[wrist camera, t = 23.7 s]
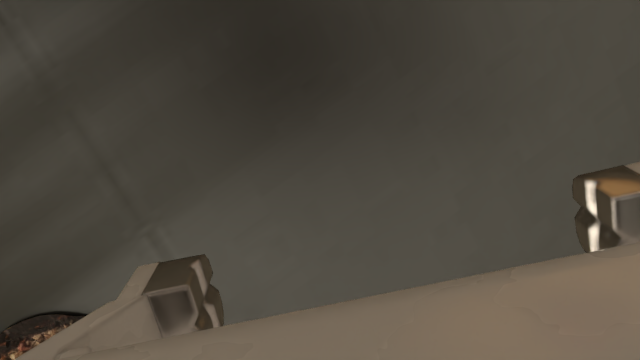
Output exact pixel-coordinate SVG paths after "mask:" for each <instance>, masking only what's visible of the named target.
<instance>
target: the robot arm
mask: <svg viewBox="0 0 640 360" xmlns="http://www.w3.org/2000/svg"><path fill="white" fill-rule="evenodd" d="M572 192H573V199H574V200H575V201H576V202H577V203H578V204H579V205H580V206H581V207H580V209H579V211H578V212H577V214H576V216H575V226H576V233H577V236H578V239H579V242H580V244H581V246H582V248H583V249H584V251H585V252H586V253H583V254H578V255H573V256H568V257H563V258H558V259H553V260H548V261H543V262H538V263H533V264H528V265H523V266H518V267H513V268H508V269H503V270H498V271H493V272H488V273H483V274H479V275H474V276H469V277H464V278H459V279H454V280H449V281H444V282H439V283H434V284H429V285H424V286H419V287H414V288H409V289H404V290H399V291H394V292H389V293H384V294H379V295H375V296H370V297H365V298H360V299H355V300H350V301H345V302H340V303H335V304H330V305H325V306H320V307H315V308H310V309H305V310H300V311H295V312H290V313H285V314H280V315H275V316H271V317H266V318H261V319H256V320H251V321H246V322H241V323H236V324H231V325H226V326H223V325H224V311H223V306H222V300H221V297H220V294H219V290H217V289H216V288H215V287H213V286H212V285H211V284H210V280H211V277H212V274H213V271H212V268H211V265H210V262H209V259H208V258H207V257H206V255H205V254H202V255H197V256H192V257H186V258H181V259H176V260H171V261H166V262H157V263H153V264H148V265H144V266H139V267H137V268H136V270H135V272H134V273H133V275H132V276H131V278H130V279H129V281H128V282H127V284H126V285H125V287H124V289H123V290H122V292H121V293H120V295H119V296H118V298H117V299H116V301H112V302H108V303H107V304H105V305H103V306H102V307H100V308H98V309H97V310H95V311H93V312H92V313H90V314H88V315H87V316H85V317H84V318H82V319H80V320H79V321H77V322H75V323H74V324H72V325H70V326H69V327H67V328H65V329H64V330H62V331H60V332H59V333H57V334H55V335H54V336H52V337H51V338H49V339H47V340H46V341H44V342H42V343H41V344H39V345H37V346H36V347H34V348H32V349H31V350H29V351H27V352H26V353H24V354H22V355H21V356H19V357H18V358H16V359H14V360H640V162H637V163H633V164H629V165H625V166H624V165H621V166H617V167H613V168H608V169H604V170H600V171H595V172H591V173H587V174H582V175H578V176H577V177H575V178H574V179H573V185H572Z"/></svg>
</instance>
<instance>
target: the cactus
mask: <svg viewBox="0 0 640 360" xmlns="http://www.w3.org/2000/svg"><path fill="white" fill-rule="evenodd" d="M84 317H85V316H68V315H60V314H58V315H57V314H54V315H43V316H38V317H34V318H31V319H27V320H25V321H22V322H20V323H18V324H16V325H14V326H12V327H10V328H8V329H6V330H5V331H3V332H2V333H1V334H0V360H14V359H16V358H18V357H19V356H21V355H22V354H24V353H26V352H27V351H29V350H31V349H32V348H34V347H36V346H37V345H39V344H41V343H42V342H44V341H46V340H47V339H49V338H51V337H52V336H54V335H55V334H57V333H59V332H60V331H62V330H64V329H65V328H67V327H69V326H70V325H72V324H74V323H75V322H77V321H79V320H80V319H82V318H84Z"/></svg>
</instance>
